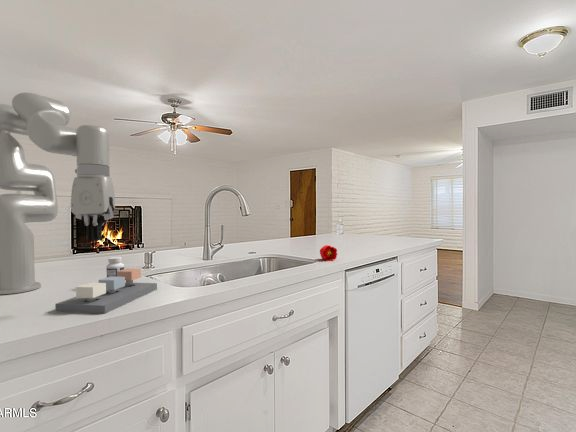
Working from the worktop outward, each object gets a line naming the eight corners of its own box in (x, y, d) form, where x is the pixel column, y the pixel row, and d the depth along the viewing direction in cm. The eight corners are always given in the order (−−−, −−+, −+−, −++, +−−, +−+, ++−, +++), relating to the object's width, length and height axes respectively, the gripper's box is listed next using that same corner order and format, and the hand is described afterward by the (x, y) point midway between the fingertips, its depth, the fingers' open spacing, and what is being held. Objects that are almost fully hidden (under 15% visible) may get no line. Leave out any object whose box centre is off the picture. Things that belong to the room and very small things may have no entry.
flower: (333, 248, 165) (340, 249, 158) (328, 261, 164) (334, 264, 157) (321, 242, 164) (326, 243, 156) (315, 256, 163) (321, 258, 155)
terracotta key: (117, 286, 97) (117, 271, 97) (127, 283, 102) (127, 268, 102) (131, 287, 97) (131, 271, 97) (141, 283, 101) (140, 268, 101)
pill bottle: (120, 283, 111) (120, 256, 111) (127, 285, 108) (126, 257, 108) (104, 286, 107) (103, 257, 107) (110, 288, 104) (110, 259, 104)
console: (55, 311, 81) (55, 303, 80) (117, 288, 104) (117, 282, 104) (105, 313, 79) (104, 305, 79) (157, 289, 102) (156, 283, 102)
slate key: (98, 296, 89) (98, 279, 89) (110, 292, 94) (110, 276, 94) (114, 297, 89) (113, 280, 89) (125, 292, 94) (124, 276, 93)
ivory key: (76, 305, 81) (76, 286, 81) (90, 299, 86) (90, 282, 86) (93, 305, 81) (92, 287, 81) (106, 300, 86) (105, 283, 86)
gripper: (57, 171, 82) (58, 241, 82) (108, 170, 80) (109, 242, 80) (80, 174, 89) (81, 238, 90) (127, 173, 87) (128, 239, 87)
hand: (94, 240), depth 85 cm, fingers closed
